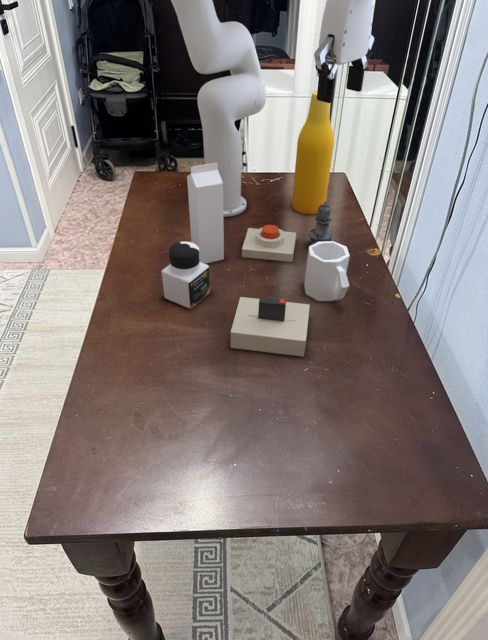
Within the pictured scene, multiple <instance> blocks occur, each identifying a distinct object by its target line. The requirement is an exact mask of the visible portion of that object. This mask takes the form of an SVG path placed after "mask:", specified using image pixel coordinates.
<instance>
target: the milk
mask: <svg viewBox="0 0 488 640" xmlns="http://www.w3.org/2000/svg"><path fill="white" fill-rule="evenodd" d="M186 179H187V180H186V181H187V195H188V211H189V212H188V214H189V226H190V228H189V229H190V242H192V243H194V244H196V245H197V246H198V248H199V256H200V262H201V263H204V264H206V265H207V264H210V263H215V262H219V261H224V260H225V246H224V245H225V243H224V241H225V237H224V236H225V233H224V217H223V182H222V179H221V177H220V174H219V172H218V164H217V163H211V164H205V165H204V164H199V165H192V166H191V167H190V174H188V175H187V176H186Z"/></svg>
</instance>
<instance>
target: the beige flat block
mask: <svg viewBox="0 0 488 640" xmlns="http://www.w3.org/2000/svg"><path fill="white" fill-rule="evenodd" d="M259 299H260V298H255V297H245V296H240V297H239V300H238V304H237V308H236V311H235V315H234V318H233V321H232V326H231V329H230V349H238V350H246V351H253V352H261V353H271V354H279V355H287V356H294V357H301V358H302V357H305V353H306V352H305V351H306V344H307V335H308V327H309V325H308V324H309V317H310V306H311V305H310V304H309V303H308V304H307V303H299V302H292V301H286V310H285V319H284V321H276V320H267V319H259V318H258V311H259Z"/></svg>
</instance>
